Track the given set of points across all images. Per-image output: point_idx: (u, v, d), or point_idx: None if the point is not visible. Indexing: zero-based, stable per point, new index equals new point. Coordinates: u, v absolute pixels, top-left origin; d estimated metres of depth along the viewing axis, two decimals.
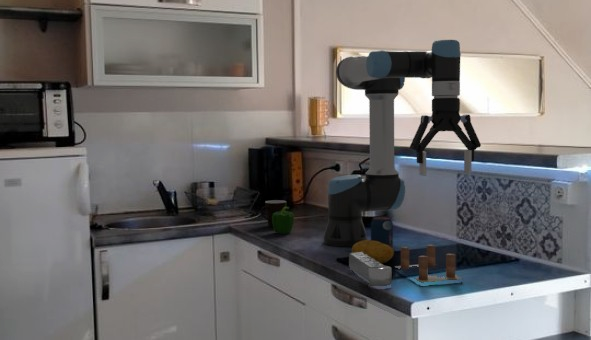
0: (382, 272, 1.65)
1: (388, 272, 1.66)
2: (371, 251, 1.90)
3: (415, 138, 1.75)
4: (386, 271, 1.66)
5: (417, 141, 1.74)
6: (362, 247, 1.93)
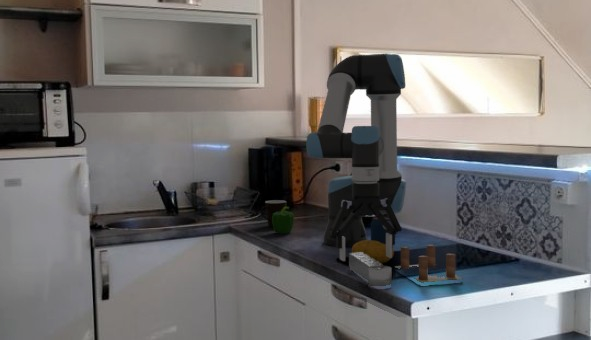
0: (382, 272, 1.65)
1: (388, 272, 1.66)
2: (371, 251, 1.90)
3: (334, 223, 1.75)
4: (386, 271, 1.66)
5: (336, 227, 1.74)
6: (362, 247, 1.93)
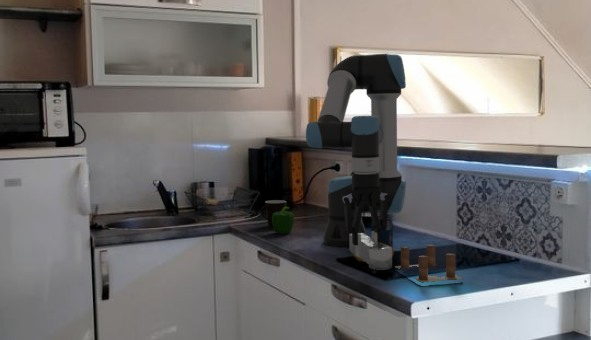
0: (382, 252, 1.65)
1: (388, 252, 1.66)
2: None
3: (346, 221, 1.76)
4: (386, 251, 1.66)
5: (349, 224, 1.75)
6: None
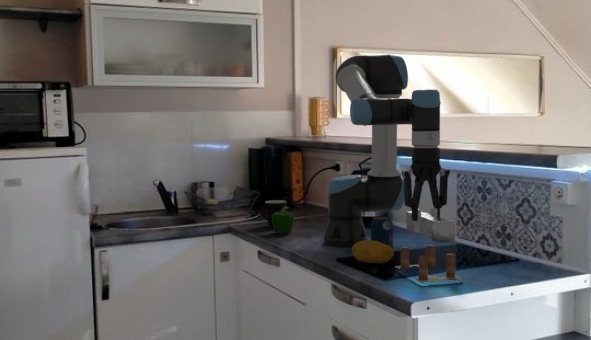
0: (446, 224, 1.63)
1: (452, 225, 1.63)
2: (371, 251, 1.90)
3: (406, 196, 1.74)
4: (450, 223, 1.63)
5: (409, 199, 1.73)
6: (362, 247, 1.93)
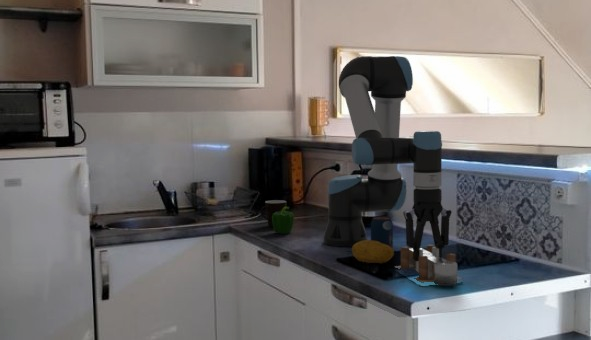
0: (449, 267, 1.64)
1: (454, 267, 1.64)
2: (371, 251, 1.90)
3: (408, 236, 1.75)
4: (453, 266, 1.64)
5: (411, 239, 1.74)
6: (362, 247, 1.93)
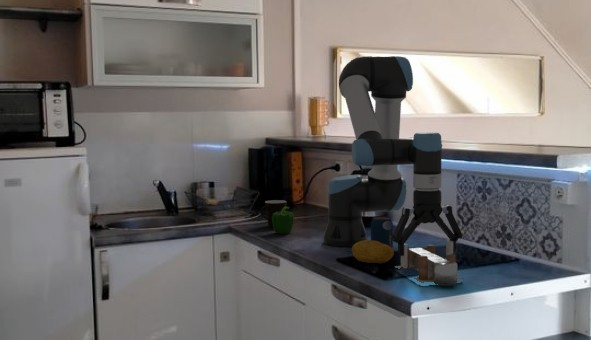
0: (449, 267, 1.64)
1: (454, 267, 1.64)
2: (371, 251, 1.90)
3: (396, 231, 1.74)
4: (453, 266, 1.64)
5: (398, 234, 1.73)
6: (362, 247, 1.93)
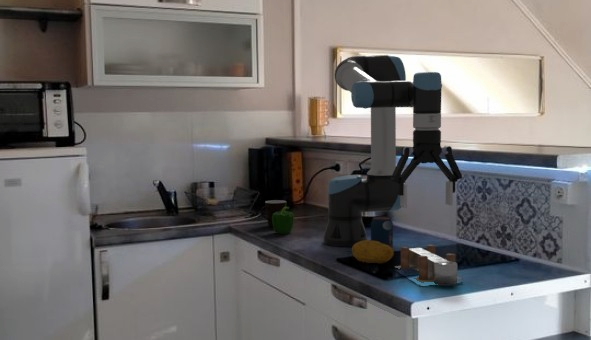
0: (449, 267, 1.64)
1: (454, 267, 1.64)
2: (371, 251, 1.90)
3: (396, 170, 1.75)
4: (453, 266, 1.64)
5: (398, 173, 1.74)
6: (362, 247, 1.93)
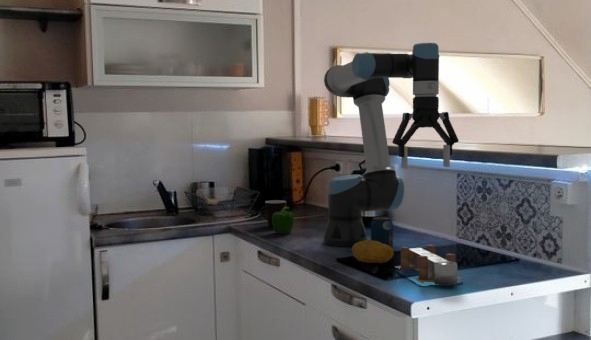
0: (449, 267, 1.64)
1: (454, 267, 1.64)
2: (371, 251, 1.90)
3: (397, 134, 1.89)
4: (453, 266, 1.64)
5: (399, 136, 1.88)
6: (362, 247, 1.93)
